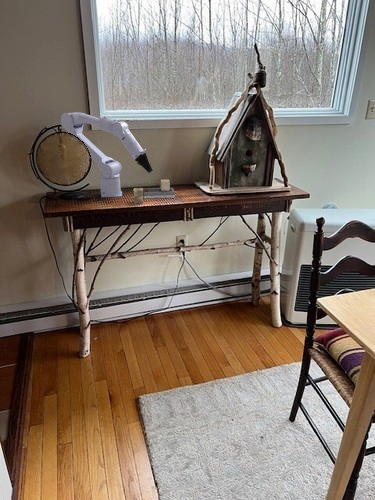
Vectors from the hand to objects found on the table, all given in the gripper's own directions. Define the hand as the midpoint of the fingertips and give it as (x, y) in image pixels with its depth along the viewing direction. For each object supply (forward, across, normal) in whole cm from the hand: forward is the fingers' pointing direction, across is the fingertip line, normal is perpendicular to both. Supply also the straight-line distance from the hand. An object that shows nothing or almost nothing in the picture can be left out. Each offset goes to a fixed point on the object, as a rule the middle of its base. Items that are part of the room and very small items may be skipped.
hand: (150, 170), depth 163 cm
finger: (+8, 0, +13) cm, 15 cm away
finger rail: (+10, +10, +5) cm, 15 cm away
